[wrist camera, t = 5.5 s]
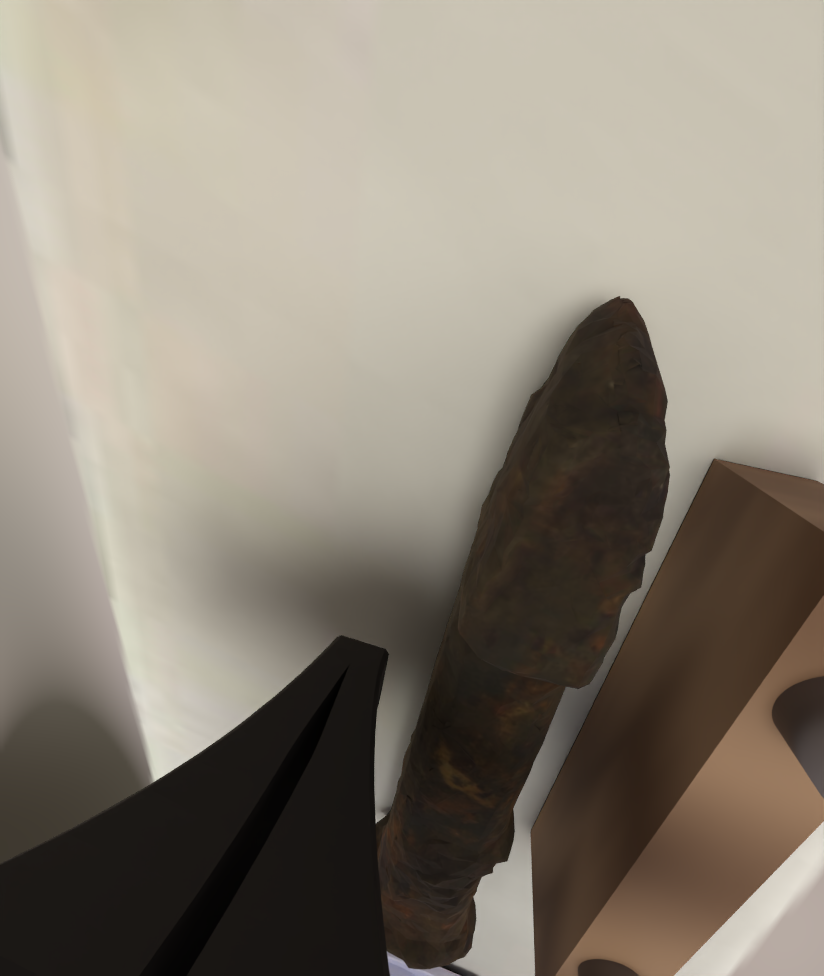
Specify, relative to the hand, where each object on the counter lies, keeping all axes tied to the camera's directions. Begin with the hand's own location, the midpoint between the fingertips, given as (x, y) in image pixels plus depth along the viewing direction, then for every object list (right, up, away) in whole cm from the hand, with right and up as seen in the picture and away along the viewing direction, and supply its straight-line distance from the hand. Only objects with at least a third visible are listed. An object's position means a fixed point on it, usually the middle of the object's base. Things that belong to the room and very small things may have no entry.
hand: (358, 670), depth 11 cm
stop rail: (+8, -1, +1) cm, 8 cm away
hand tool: (+3, 0, +2) cm, 4 cm away
